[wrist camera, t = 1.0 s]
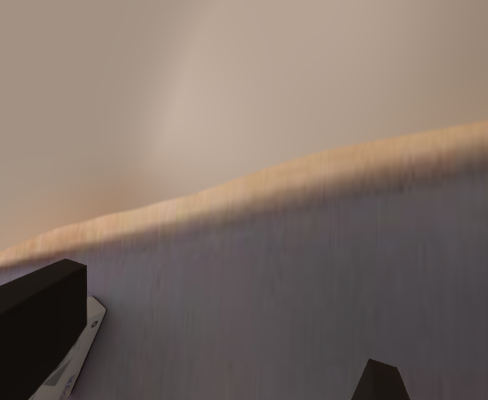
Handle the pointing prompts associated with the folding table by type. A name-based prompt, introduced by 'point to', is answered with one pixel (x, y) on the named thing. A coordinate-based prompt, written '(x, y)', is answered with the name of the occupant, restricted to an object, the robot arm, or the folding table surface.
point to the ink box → (72, 358)
